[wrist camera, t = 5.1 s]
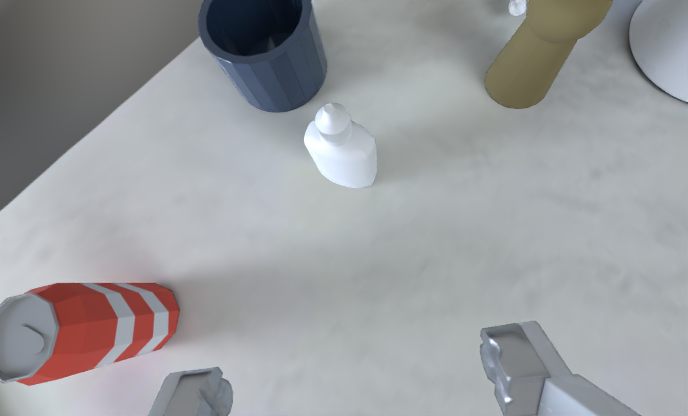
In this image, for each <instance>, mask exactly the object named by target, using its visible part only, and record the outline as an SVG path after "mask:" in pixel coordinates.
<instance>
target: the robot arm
mask: <svg viewBox="0 0 688 416" xmlns="http://www.w3.org/2000/svg"><path fill="white" fill-rule="evenodd" d="M629 42H630V47H631V50H632V53H633V56H634V58H635V60H636V62H637V64H638V65H639V67H640V68H641V70H642V71H643V72H644V73H645V75H646V76H647V77H648V78H649V79H650V80H651V81H652V82H653V83H655V84H656V85H657V86H658V87H660V88H661V89H662V90H664V91H665V92H667V93H669V94H670V95H672V96H674V97H676V98H678V99H680V100H683V101H685V102H688V0H643V1H642V2H641V4H640V5H639V6H638V8H637V9H636V11H635V13H634V15H633V17H632V19H631V23H630V28H629ZM480 336H481V339H482V341H483V343H482V344H481V345H480V355H481V360H482V364H483V367H484V370H485V373H486V375H487V377H488V379H489V380H490V381H492V382H493V383H494V384H495V393H494V394H495V397H496V399H497V401H498V404H499V406H500V408H501V411H502V413H503V415H504V416H641V415H640V414H638V413H637V412H635V411H634V410H632V409H631V408H629V407H627V406H626V405H624V404H623V403H621V402H620V401H618V400H617V399H615V398H614V397H612V396H611V395H609V394H608V393H606V392H605V391H603V390H602V389H600V388H599V387H597V386H596V385H594V384H593V383H591V382H590V381H588V380H587V379H585V378H584V377H582V376H581V375H579V374H575V375H573V374H572V373H571V371H570V370H569V368H568V367H567V365H566V364H565V362H564V361H563V359H562V358H561V356H560V355H559V353H558V352H557V350H556V349H555V347H554V346H553V344H552V343H551V341H550V340H549V338H548V337H547V335H546V334H545V332H544V331H543V329H542V328H541V326H540V325H539V324H538V323H537V322H536V321H529V322H523V323H517V324H516V323H513V324H507V325H500V326H494V327H488V328H482V330H481V335H480ZM222 374H223V372H222V371H221V370H220V368H219V367H214V368H206V369H199V370H191V371H182V372H175V373H170V374H169V375H168V376H167V377H166V378H165V380H164V382H163V384H162V386H161V388H160V391H159V393H158V395H157V397H156V399H155V401H154V403H153V406H152V408H151V410H150V412H149V414H148V416H228V415H229V413H230V411H231V407H232V403H233V391H232V387H231V384H230V383H229V381H227V380H225V379H223V378H221V377H222Z"/></svg>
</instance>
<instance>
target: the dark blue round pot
mask: <svg viewBox="0 0 688 416" xmlns="http://www.w3.org/2000/svg"><path fill="white" fill-rule="evenodd" d="M198 24H199V25H198V26H199V35H200V37H201V39H202V41H203V43H204V46H205V47H206V49H207V50H208V51H209V53H210V54H211V55H212V57H213V58H214V59H215V61H216V62H217V63H218V64H219V66H220V67H221V68H222V70H223V71H224V72H225V74H226V75H227V76H228V78H229V79H230V80H231V82H232V83H233V84H234V86H235V87H236V88H237V90H238V91H239V92H240V93H241V95H242V96H243V97H244V98H245V99H246V100H247V101H248V102H249V103H250V104H251V105H253V106H254V107H256V108H258V109H261V110H264V111H268V112H285V111H290V110H293V109H296V108H298V107H300V106H302V105H304V104H305V103H307V102H308V101H309V100H311V99H312V98H313V97H314V96H315V95H316V93H317V92H318V91H319V89H320V88H321V86H322V84H323V82H324V80H325V77H326V72H327V60H326V56H325V50H324V47H323V43H322V39H321V35H320V31H319V27H318V23H317V19H316V15H315V11H314V7H313V3H312V0H204V1H203V3H202V6H201V9H200V13H199V16H198Z"/></svg>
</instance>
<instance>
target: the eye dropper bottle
mask: <svg viewBox="0 0 688 416" xmlns="http://www.w3.org/2000/svg"><path fill="white" fill-rule="evenodd" d="M304 143H305V145H306V147H307V149H308V151H309V153H310V155H311V156H312V158H313V160H314V162H315V163H316V165H317V167H318V169H319V170H320V172H321V173H322V174H323V175H324V176H325V177H326V178H328V179H329V180H331V181H333V182H335V183H337V184H339V185H342V186H345V187H351V188H365V187H369V186H371V185H372V184H373V182H374V179H375V176H376V173H377V154H376V142H375V138H374V136H373V135H372V134H371V133H370V132H369V131H368V130H366V129H365V128H364V127H362V126H361V125H359V124H357V123H355V122H353V121H351V119H350V115H349V112H348V110H347V109H346V108H345V107H344V106H343V105H340V104H336V103H332V104H331V103H327V104H326V105H325V106H323V107H322V108H321V109H319V111H318V112H317V115H316V118H315V120H313V121H311V123H310V124H309V126H308V128H307V130H306V133H305V136H304Z"/></svg>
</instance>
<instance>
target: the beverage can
mask: <svg viewBox="0 0 688 416" xmlns="http://www.w3.org/2000/svg"><path fill="white" fill-rule="evenodd" d="M179 311H180V310H179V307H178V305H177V302H176V300H175V298H174V295H173V293H172V291H170V290H168V289H166V288H164V287H162V286H160V285H158V284H156V283H56V284H52V285H48V286H44V287H40V288H36V289H32V290H30V291H28V292H26V293H24V294H22V295H17V296H13V297H9V298H6V299H5V300H4V301H3V302H2V303H1V304H0V382H2V383H3V384H4V383H8V382H12V381H17V382H20V383H23V384H25V385H28V386H30V385H35V384H39V383H44V382H48V381H53V380H57V379H60V378H64V377H67V376H71V375H74V374H77V373H81V372H84V371H88V370H91V369H94V368H98V367H101V366H104V365H108V364H111V363H115V362H118V361H121V360H125V359H128V358H132V357H135V356H138V355H142V354H145V353H148V352H152V351H155V350H159V349H161V348H162V347H163V345H164V344H165V343H166V342H167V341H168V340H169V339H170V338H171V337H172V335H173V334H174V333H175V332H176V327H177V321H178V316H179Z"/></svg>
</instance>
